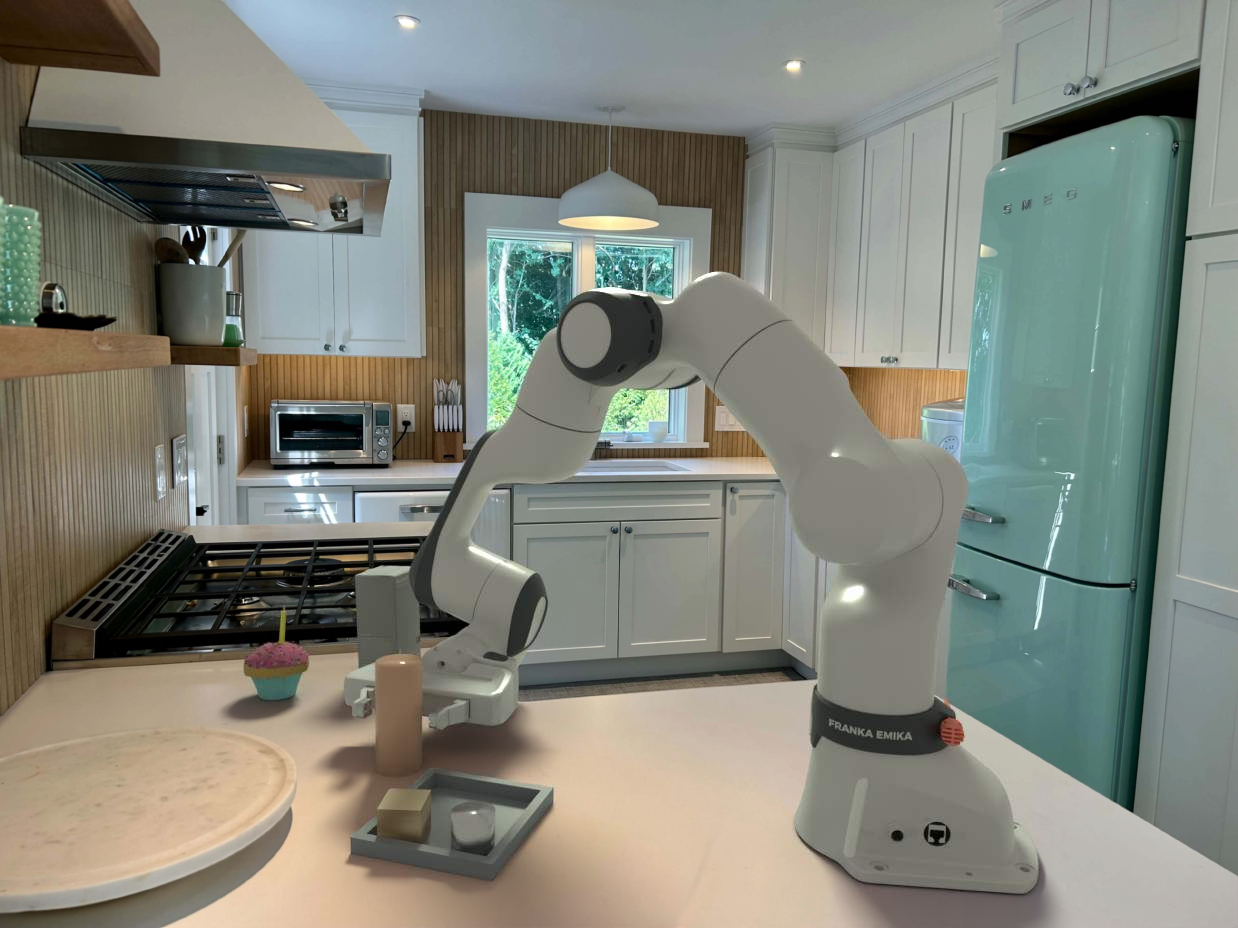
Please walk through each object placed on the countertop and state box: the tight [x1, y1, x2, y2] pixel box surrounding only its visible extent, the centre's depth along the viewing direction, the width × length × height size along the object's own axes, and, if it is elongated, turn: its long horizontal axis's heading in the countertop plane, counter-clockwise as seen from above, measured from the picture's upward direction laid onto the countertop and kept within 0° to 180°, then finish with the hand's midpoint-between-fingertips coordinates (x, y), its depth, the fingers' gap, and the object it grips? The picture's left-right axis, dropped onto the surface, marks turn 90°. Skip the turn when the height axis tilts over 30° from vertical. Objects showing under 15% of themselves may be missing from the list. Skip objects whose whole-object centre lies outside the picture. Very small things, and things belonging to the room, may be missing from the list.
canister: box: [374, 654, 423, 778], centre depth 97 cm, size 5×5×13 cm
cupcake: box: [243, 604, 310, 701], centre depth 120 cm, size 9×8×12 cm
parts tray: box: [349, 767, 555, 882], centre depth 85 cm, size 14×15×2 cm
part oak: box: [376, 788, 431, 844], centre depth 82 cm, size 4×4×4 cm
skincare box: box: [354, 565, 422, 669], centre depth 129 cm, size 8×7×16 cm
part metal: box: [451, 801, 495, 856], centre depth 80 cm, size 4×4×4 cm
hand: (395, 716), depth 97 cm, fingers open, 8 cm apart
